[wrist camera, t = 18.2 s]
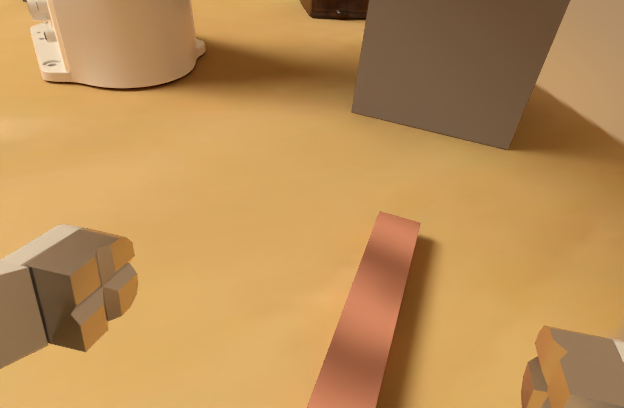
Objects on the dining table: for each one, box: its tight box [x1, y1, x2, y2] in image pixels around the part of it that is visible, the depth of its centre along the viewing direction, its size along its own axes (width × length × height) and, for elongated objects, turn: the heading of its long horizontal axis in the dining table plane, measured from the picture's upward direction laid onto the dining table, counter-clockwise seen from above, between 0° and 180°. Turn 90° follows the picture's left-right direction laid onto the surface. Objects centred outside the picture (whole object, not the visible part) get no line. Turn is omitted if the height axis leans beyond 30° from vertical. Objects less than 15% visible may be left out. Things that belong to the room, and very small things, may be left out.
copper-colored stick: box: [307, 211, 421, 408], centre depth 23 cm, size 26×3×2 cm, turn 161°
